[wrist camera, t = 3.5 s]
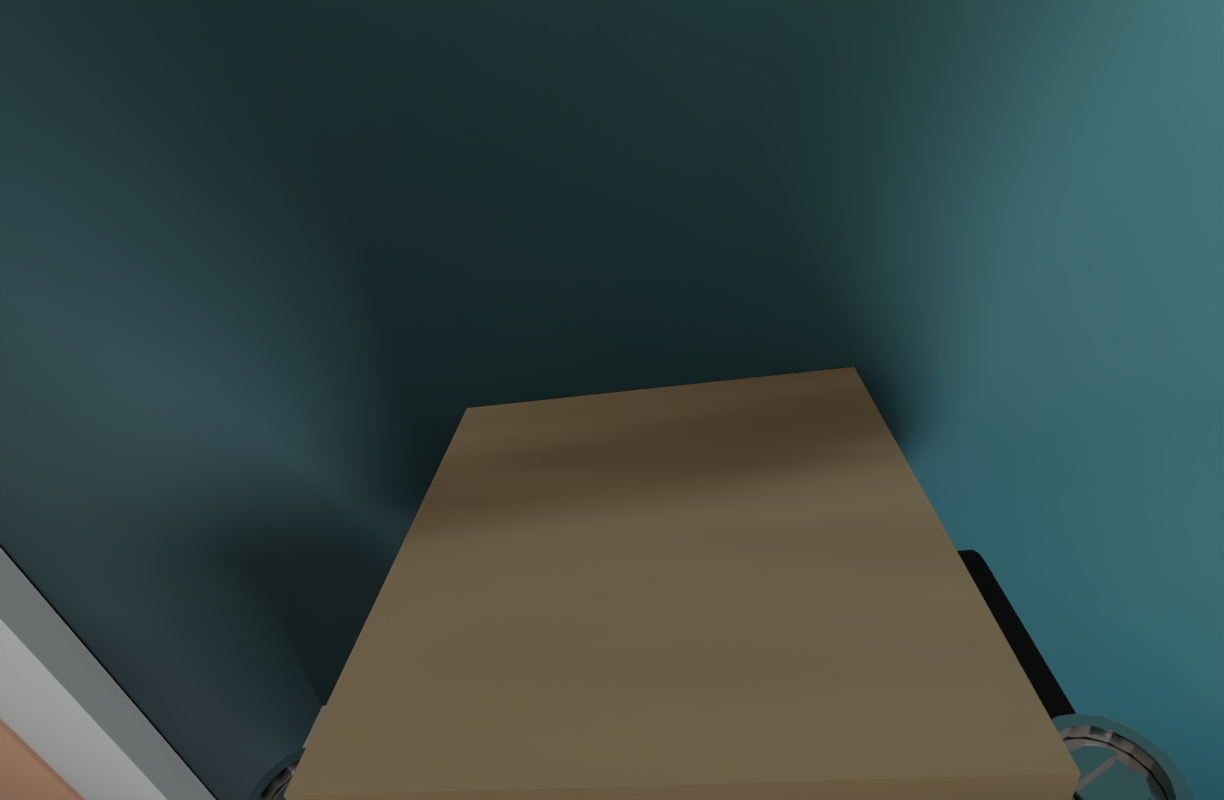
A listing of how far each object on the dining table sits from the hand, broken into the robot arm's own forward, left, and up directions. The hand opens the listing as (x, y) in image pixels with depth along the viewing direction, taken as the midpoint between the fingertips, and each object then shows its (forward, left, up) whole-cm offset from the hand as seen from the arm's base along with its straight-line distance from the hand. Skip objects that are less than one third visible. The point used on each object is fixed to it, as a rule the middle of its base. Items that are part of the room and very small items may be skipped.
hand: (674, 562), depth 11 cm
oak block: (0, 0, -1) cm, 1 cm away
